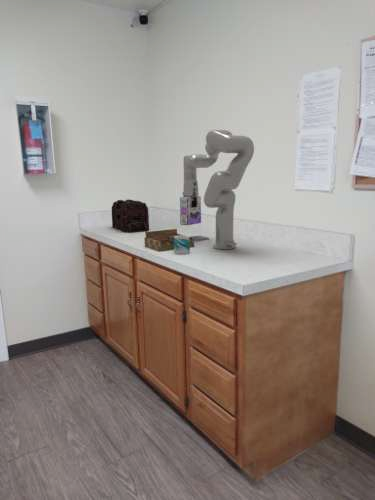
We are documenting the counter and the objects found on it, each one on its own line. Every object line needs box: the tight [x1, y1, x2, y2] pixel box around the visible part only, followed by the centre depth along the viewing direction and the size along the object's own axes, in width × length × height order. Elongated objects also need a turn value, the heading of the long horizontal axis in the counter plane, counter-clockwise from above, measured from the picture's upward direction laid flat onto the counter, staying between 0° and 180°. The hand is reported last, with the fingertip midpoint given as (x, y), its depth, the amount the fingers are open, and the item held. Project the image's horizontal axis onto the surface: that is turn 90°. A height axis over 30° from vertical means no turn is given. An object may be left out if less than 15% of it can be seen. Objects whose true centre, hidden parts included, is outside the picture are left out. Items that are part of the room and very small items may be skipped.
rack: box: [143, 228, 195, 252], centre depth 222 cm, size 18×22×8 cm
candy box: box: [179, 195, 202, 226], centre depth 239 cm, size 14×6×16 cm, turn 142°
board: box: [190, 235, 210, 242], centre depth 242 cm, size 11×19×1 cm, turn 122°
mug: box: [174, 235, 191, 255], centre depth 207 cm, size 8×12×8 cm
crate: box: [111, 199, 150, 234], centre depth 289 cm, size 35×19×21 cm, turn 28°
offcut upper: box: [168, 234, 184, 244], centre depth 216 cm, size 3×8×4 cm, turn 126°
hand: (190, 206), depth 238 cm, fingers closed on candy box, 7 cm apart
